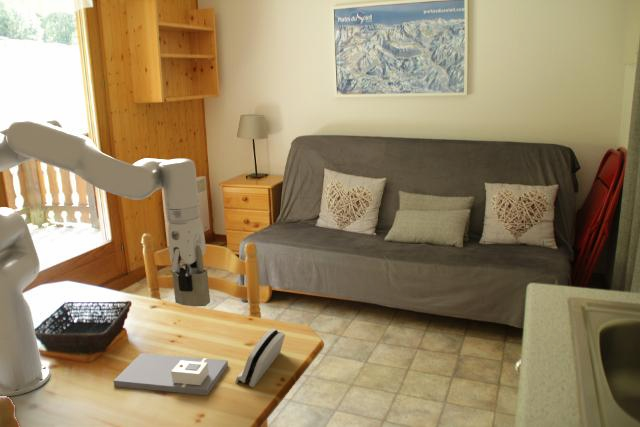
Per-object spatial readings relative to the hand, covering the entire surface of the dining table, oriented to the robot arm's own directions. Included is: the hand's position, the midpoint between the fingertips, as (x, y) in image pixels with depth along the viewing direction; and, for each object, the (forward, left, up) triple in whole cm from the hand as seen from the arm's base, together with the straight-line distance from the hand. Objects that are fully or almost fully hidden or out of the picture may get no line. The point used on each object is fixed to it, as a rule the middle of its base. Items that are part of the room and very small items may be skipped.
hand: (190, 285), depth 132 cm
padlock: (0, 0, -5) cm, 5 cm away
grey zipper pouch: (+15, +4, -23) cm, 28 cm away
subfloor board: (-6, -3, -23) cm, 24 cm away
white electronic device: (+1, -6, -21) cm, 22 cm away
